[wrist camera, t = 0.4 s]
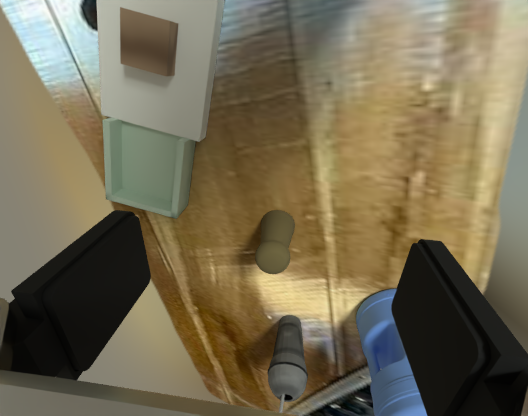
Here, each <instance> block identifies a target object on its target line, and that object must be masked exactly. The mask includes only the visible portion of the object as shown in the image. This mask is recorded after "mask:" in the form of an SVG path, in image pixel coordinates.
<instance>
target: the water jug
mask: <svg viewBox="0 0 528 416" xmlns="http://www.w3.org/2000/svg"><path fill="white" fill-rule="evenodd" d="M396 289H397V288H396ZM396 289H388V290H384V291H381V292H378V293H376V294H374V295H372V296H370V297H369V298H368V299H366V300H365V301H364V302H363V303H362V304H361V306H360V307H359V309H358V312H357V315H356V324H357V329H358V332H359V335H360V340H361V344H362V349H363V353H364V355H365V357H366V358H367V361H368V366H369V371H370V376H371V380H372V382H371V394H372V399H373V407H374V414H375V416H427V413H426V410H425V407H424V405H423V402H422V399H421V396H420V393H419V390H418V387H417V384H416V382H415V379H414V376H413V373H412V370H411V367H410V364H409V361H408V359H407V356H406V353H405V350H404V347H403V344H402V341H401V338H400V335H399V333H398V330H397V327H396V324H395V321H394V318H393V315H392V311H391V305H392V301H393V298H394V295H395V292H396ZM380 368H381V369H382V370H380Z"/></svg>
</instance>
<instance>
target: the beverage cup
mask: <svg viewBox="0 0 528 416" xmlns="http://www.w3.org/2000/svg"><path fill="white" fill-rule="evenodd" d="M307 378H308V374H307V370H306V365H305V360H304V349H303V338H302V328H301V322H300V320H299V318H297V317H295V316H292V315H286V316H284V317H282V318H281V320H280V324H279V327H278V332H277V338H276V343H275V348H274V353H273V358H272V360H271V363H270V367H269V369H268V382H269V386H270V388H271V390H272V392H273V394H274V395H275V396H276V397H277V398H278V399H280V400H281V402H280V408H279V413H282V409H283V403H284V401H285V402H291V401H294V400H296V399H298V398H299V397H300V396H301V395H302V394H303V392H304V390H305V387H306V383H307Z"/></svg>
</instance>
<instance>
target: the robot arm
mask: <svg viewBox="0 0 528 416" xmlns="http://www.w3.org/2000/svg"><path fill="white" fill-rule="evenodd" d="M150 277H151V275H150V269H149V265H148V260H147V255H146V250H145V245H144V240H143V235H142V231H141V226H140V221H139V218H138V217H137V216H135V214H134V213H133V212H130V211H119V210H115V211H113V212H111V213H110V214H109V215H108V216H106V217H105V218H104V219H103V220H101V221H100V222H99V223H98V224H96V225H95V226H94V227H92V228H91V229H90V230H89V231H87V232H86V233H85V234H83V235H82V236H81V237H80V238H79V239H77V240H76V241H74V242H73V243H72V244H71V245H69V246H68V247H67V248H66V249H64V250H63V251H62V252H61V253H59V254H58V255H57V256H56V257H54V258H53V259H51V260H50V261H49V262H48V263H46V264H45V265H44V266H42V267H41V268H40V269H39V270H37V271H36V272H35V273H33V274H32V275H31V276H30V277H28V278H27V279H26V280H25V281H23V282H22V283H21V284H20V285H18V286H17V287H16V288H14V289H13V290H12V291H11V292H12V294H13V296H14V297H15V299H14V300H13V301H12V302H10V303H8V302H7V301H6V300H5V299H3V298H0V416H297V415H291V414H285V413H279V412H273V411H267V410H260V409H254V408H248V407H242V406H236V405H229V404H223V403H217V402H210V401H204V400H198V399H192V398H186V397H180V396H173V395H167V394H161V393H154V392H148V391H141V390H135V389H129V388H122V387H115V386H109V385H103V384H96V383H90V382H83V381H77V379H78V378H79V376H80V375H81V373H82V372H83V371H86V370H88V369H89V368H90V367H91V365H92V364H93V363H94V361H95V360H96V358H97V357H98V355H99V354H100V352H101V351H102V350H103V348H104V347H105V345H106V344H107V343H108V341H109V340H110V338H111V337H112V335H113V334H114V333H115V331H116V330H117V328H118V327H119V325H120V324H121V323H122V321H123V320H124V318H125V317H126V316H127V314H128V313H129V311H130V310H131V308H132V307H133V305H134V304H135V303H136V301H137V300H138V298H139V297H140V296H141V294H142V293H143V291H144V290H145V288H146V287H147V285H148V284H149V282H150ZM391 311H392V315H393V318H394V321H395V324H396V327H397V330H398V333H399V335H400V338H401V341H402V344H403V347H404V350H405V353H406V356H407V359H408V361H409V364H410V367H411V370H412V373H413V376H414V379H415V382H416V384H417V387H418V390H419V393H420V396H421V399H422V402H423V405H424V407H425V410H426V413H427V416H528V354H527V352H526V351H525V350H524V349H523V347H522V346H521V345H520V343H519V342H518V341H517V340H516V338H515V337H514V336H513V334H512V333H511V331H510V330H509V329H508V328H507V326H506V325H505V324H504V322H503V321H502V320H501V318H500V317H499V316H498V314H497V313H496V312H495V311H494V309H493V308H492V307H491V305H490V304H489V303H488V301H487V300H486V299H485V297H484V296H483V295H482V293H481V292H480V291H479V290H478V288H477V287H476V286H475V284H474V283H473V282H472V280H471V279H470V278H469V276H468V275H467V274H466V273H465V271H464V270H463V269H462V267H461V266H460V265H459V263H458V262H457V261H456V259H455V258H454V257H453V255H452V254H451V253H450V252H449V250H448V249H447V248H446V246H445V245H444V244H443V243H442V242H441V241H434V240H424V239H421V240H419V241H418V243H414V244H412V246H411V249H410V251H409V254H408V257H407V260H406V263H405V266H404V269H403V272H402V275H401V278H400V281H399V284H398V286H397V289H396V292H395V295H394V298H393V301H392V305H391Z"/></svg>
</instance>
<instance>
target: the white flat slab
mask: <svg viewBox="0 0 528 416" xmlns="http://www.w3.org/2000/svg"><path fill="white" fill-rule="evenodd" d="M224 3H225V0H97V21H98V44H99V67H100V90H101V114H102V115H104V116H108V117H111V118H115V119H119V120H122V121H126V122H129V123H133V124H137V125H140V126H144V127H147V128H151V129H155V130H158V131H162V132H165V133H169V134H173V135H176V136H180V137H183V138H187V139H191V140H194V141H198V142H200V141H201V140H203V139H204V138H205V137H206V132H207V125H208V117H209V110H210V103H211V96H212V89H213V82H214V75H215V67H216V60H217V53H218V46H219V39H220V32H221V25H222V17H223V10H224ZM120 7H122V8H125V9H129V10H132V11H136V12H140V13H143V14H147V15H150V16H154V17H158V18H161V19H165V20H168V21H172V22H175V23H178V36H177V50H176V63H175V76H163V75H159V74H156V73H152V72H148V71H145V70H141V69H138V68H134V67H130V66H127V65H123V64H121V62H120Z"/></svg>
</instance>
